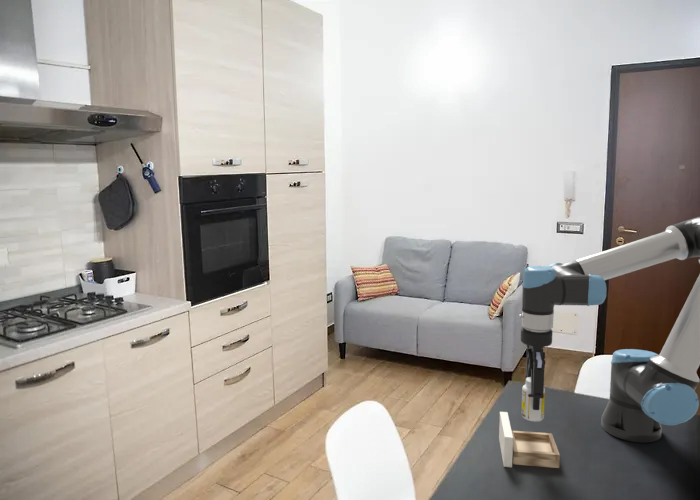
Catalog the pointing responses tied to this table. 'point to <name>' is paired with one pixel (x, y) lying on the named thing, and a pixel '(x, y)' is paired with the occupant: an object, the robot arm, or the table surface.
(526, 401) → the supplement bottle
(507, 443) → the backstop
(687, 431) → the table surface
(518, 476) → the table surface
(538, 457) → the beige shadow box
